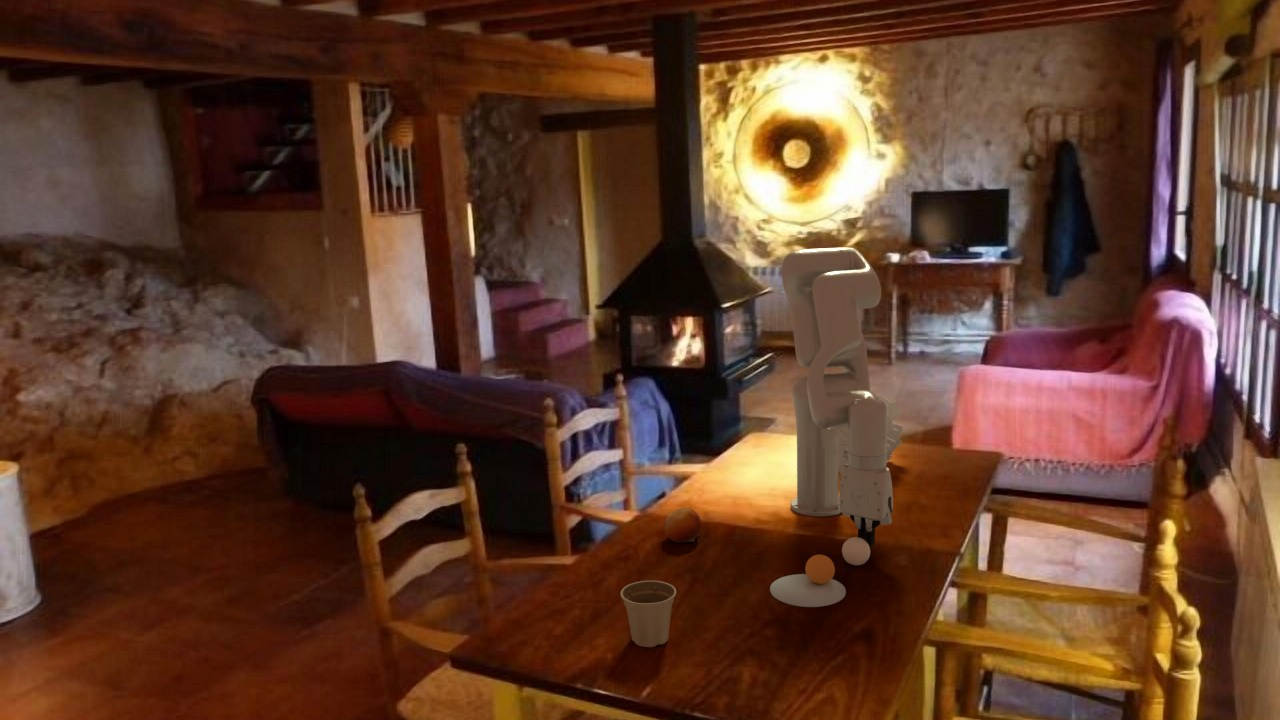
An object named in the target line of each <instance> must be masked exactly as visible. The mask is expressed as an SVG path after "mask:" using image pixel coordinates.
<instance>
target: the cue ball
mask: <svg viewBox="0 0 1280 720" xmlns="http://www.w3.org/2000/svg"><path fill="white" fill-rule="evenodd" d="M870 548H871V547H869V545H868V543H867V542H866V541H865V540H863V539H862V538H859V537H858V536H854V537H849V538H848V539H847V540H845V541H844V543H843V544H842V548H841V552H842V553H841V554H842V557H843V559H844V560H845V561H846V562H847V563H848V564H850V565H851V566H861V565H864V564H866V562H867V561H868V560H869V558H870V556H871V549H870Z"/></svg>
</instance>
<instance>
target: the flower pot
mask: <svg viewBox="0 0 1280 720" xmlns="http://www.w3.org/2000/svg"><path fill="white" fill-rule="evenodd" d="M676 595H677V589H676V587H675V586H673V585H672V584H670V583H668V582H665V581H660V580H641V581H635V582H633V583H629V584H627V585H625V586H624V587H622V589H621V590H620V598H621V599H622V601H623V604H624V606H625V607H626V608H625V609H626V614H627V618H628V623H629V629H630V635H631V640H632V642H634V644H635V645H637V646H639V647H643V648H655V647H656V646H658V645H660V646H661V645H664V644H666V642H667V641H668V640H669V634H670V624H671V616H672V605H673V604H674V599H675V597H676Z"/></svg>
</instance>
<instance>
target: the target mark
mask: <svg viewBox="0 0 1280 720" xmlns="http://www.w3.org/2000/svg"><path fill="white" fill-rule="evenodd" d="M769 587H770V588H769V589H770V590H769V592H770V595H772V597H773V598H775V599H777V600H778V601H780V602H781V603H784V604H787V605H790V606H794V607H795V606H796V607H802V608H820V607H826V606H832V605H833V604H836V603H839V602H840V601H842V600H843V599H844V598H845V596H846V594H847V591H846V587H845V586H844V584H842V583H841V582H839V581H838V580H836V579H833V578H832V579H831V580H830V581H829V582H827V583H825V584H816V583H814V582H812V581H811V580H810V579H809V578H808V576H807V574H806V573H801V574H800V573H798V574H791V575H786V576H782V577H779V578H778V579H776V580H774V581H773V582H772V583H771V585H770V586H769Z"/></svg>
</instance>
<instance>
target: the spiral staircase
mask: <svg viewBox="0 0 1280 720" xmlns="http://www.w3.org/2000/svg"><path fill="white" fill-rule="evenodd" d="M876 396H877V398H878V399H879V400H881V401H883V402H884V403H885V404H886V407H887V452H886V464H887V463H889V461H890V460H891V459H892V457H893V454H894V452H895V450H897V449H898V447H899V446H900V445H901V444H902V443H903V441H902V440H901V435H902V432H903V428H904V425H901V424H898V423H896V422H893V421H894V420H896V419H897V418H898V417H900V416H902V415H903V412H902V411H901V408H900V406H899V403H898V402H897V400H894V401H890V400H889V399H888V398H886V397H884V396H883V395H881V393H879V394H878V395H876ZM836 430H837V432H838V435H839V474H840V475H841V476H842V472H843V468H844V465H845V464H848V463H847V458H846V457H843V452H844V451H848V428H838V429H836Z"/></svg>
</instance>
